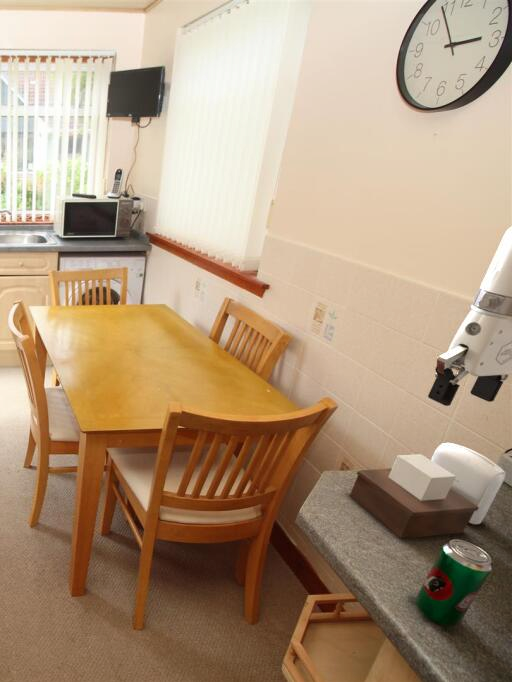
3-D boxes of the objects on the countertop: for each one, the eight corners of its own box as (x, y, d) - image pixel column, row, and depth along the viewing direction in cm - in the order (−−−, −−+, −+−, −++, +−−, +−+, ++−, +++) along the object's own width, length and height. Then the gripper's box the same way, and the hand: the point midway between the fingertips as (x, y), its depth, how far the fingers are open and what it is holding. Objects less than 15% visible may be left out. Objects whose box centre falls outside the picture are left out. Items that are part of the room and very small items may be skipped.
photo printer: (411, 490, 96) (436, 438, 91) (427, 487, 97) (452, 435, 92) (469, 527, 86) (499, 471, 82) (486, 523, 87) (517, 468, 83)
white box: (410, 475, 90) (420, 453, 88) (444, 499, 84) (456, 476, 82) (388, 477, 89) (397, 455, 87) (421, 501, 83) (432, 477, 81)
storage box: (405, 491, 95) (417, 466, 93) (464, 533, 85) (479, 507, 82) (347, 495, 93) (357, 470, 91) (400, 539, 83) (413, 512, 80)
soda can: (454, 636, 66) (492, 572, 61) (409, 610, 70) (442, 548, 65) (461, 616, 69) (498, 554, 64) (418, 592, 73) (449, 531, 68)
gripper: (494, 314, 69) (445, 415, 76) (576, 311, 73) (522, 407, 80) (439, 298, 76) (399, 392, 82) (517, 296, 80) (472, 386, 86)
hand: (459, 399), depth 81 cm, fingers open, 9 cm apart
